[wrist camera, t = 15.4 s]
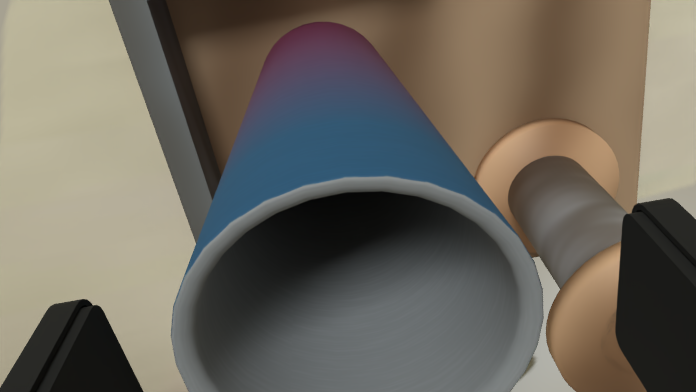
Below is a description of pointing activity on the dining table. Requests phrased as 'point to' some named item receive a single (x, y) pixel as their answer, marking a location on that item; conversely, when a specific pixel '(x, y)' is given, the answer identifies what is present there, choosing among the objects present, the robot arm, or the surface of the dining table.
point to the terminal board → (446, 121)
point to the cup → (350, 244)
